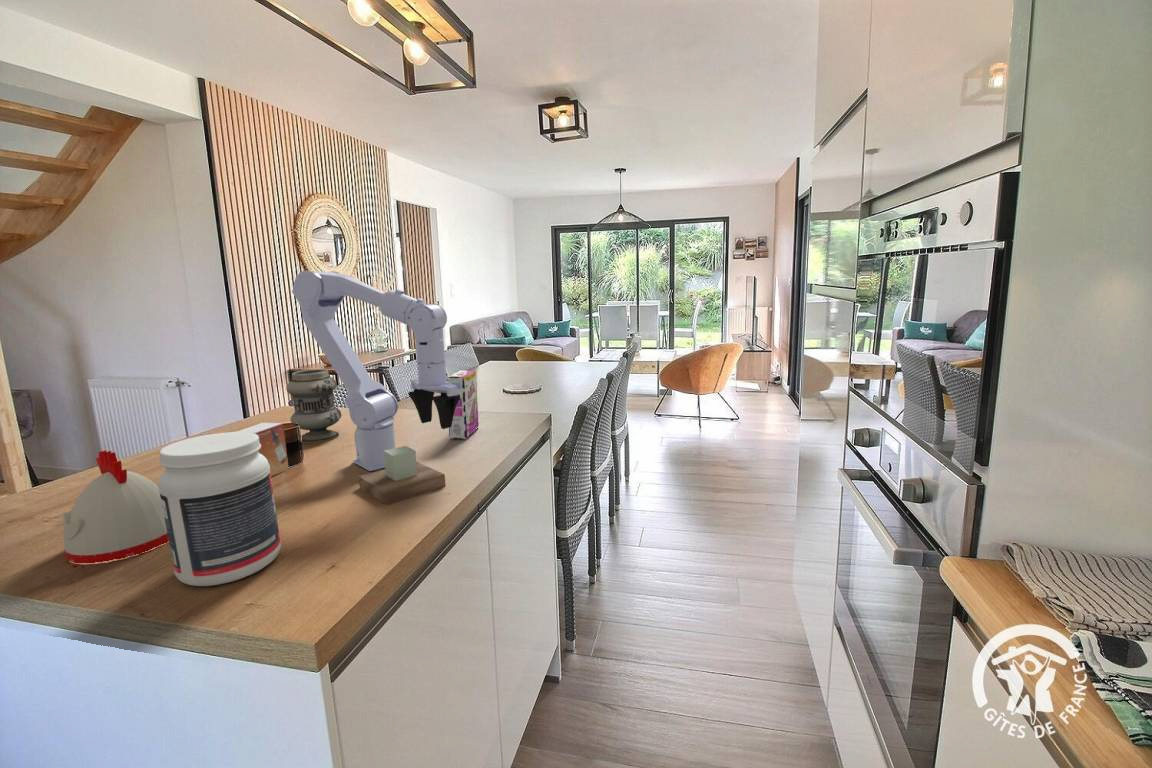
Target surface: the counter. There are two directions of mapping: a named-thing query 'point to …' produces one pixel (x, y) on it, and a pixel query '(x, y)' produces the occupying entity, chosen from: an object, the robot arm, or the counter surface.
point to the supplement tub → (218, 508)
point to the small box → (271, 445)
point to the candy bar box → (464, 404)
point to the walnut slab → (401, 484)
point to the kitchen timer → (114, 516)
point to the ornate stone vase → (314, 404)
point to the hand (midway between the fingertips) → (436, 424)
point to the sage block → (400, 463)
